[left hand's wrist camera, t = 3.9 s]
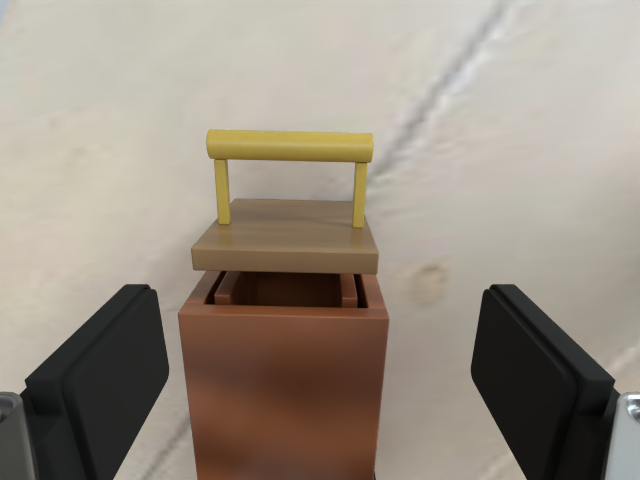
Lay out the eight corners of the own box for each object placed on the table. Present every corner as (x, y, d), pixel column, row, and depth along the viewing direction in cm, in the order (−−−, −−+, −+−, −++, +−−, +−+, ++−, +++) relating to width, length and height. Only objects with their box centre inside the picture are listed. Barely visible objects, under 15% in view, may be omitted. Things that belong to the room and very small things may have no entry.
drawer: (230, 122, 26) (179, 135, 16) (364, 126, 26) (388, 141, 16) (245, 402, 34) (217, 515, 25) (347, 404, 34) (357, 518, 25)
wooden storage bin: (231, 233, 29) (176, 313, 18) (364, 236, 29) (389, 318, 18) (243, 430, 36) (208, 575, 25) (351, 432, 36) (363, 578, 25)
